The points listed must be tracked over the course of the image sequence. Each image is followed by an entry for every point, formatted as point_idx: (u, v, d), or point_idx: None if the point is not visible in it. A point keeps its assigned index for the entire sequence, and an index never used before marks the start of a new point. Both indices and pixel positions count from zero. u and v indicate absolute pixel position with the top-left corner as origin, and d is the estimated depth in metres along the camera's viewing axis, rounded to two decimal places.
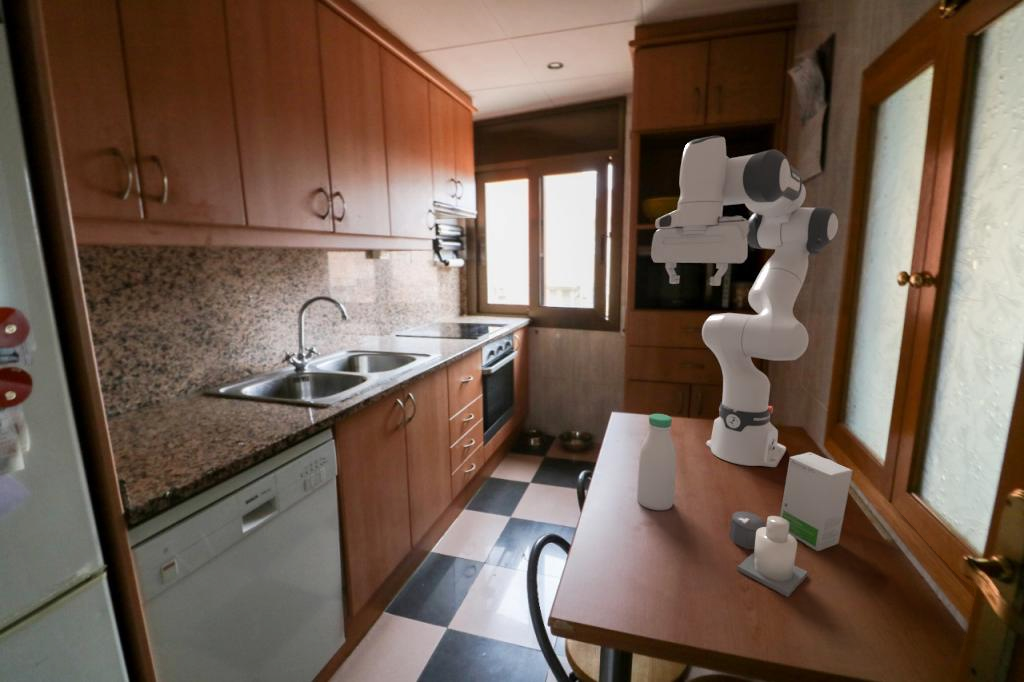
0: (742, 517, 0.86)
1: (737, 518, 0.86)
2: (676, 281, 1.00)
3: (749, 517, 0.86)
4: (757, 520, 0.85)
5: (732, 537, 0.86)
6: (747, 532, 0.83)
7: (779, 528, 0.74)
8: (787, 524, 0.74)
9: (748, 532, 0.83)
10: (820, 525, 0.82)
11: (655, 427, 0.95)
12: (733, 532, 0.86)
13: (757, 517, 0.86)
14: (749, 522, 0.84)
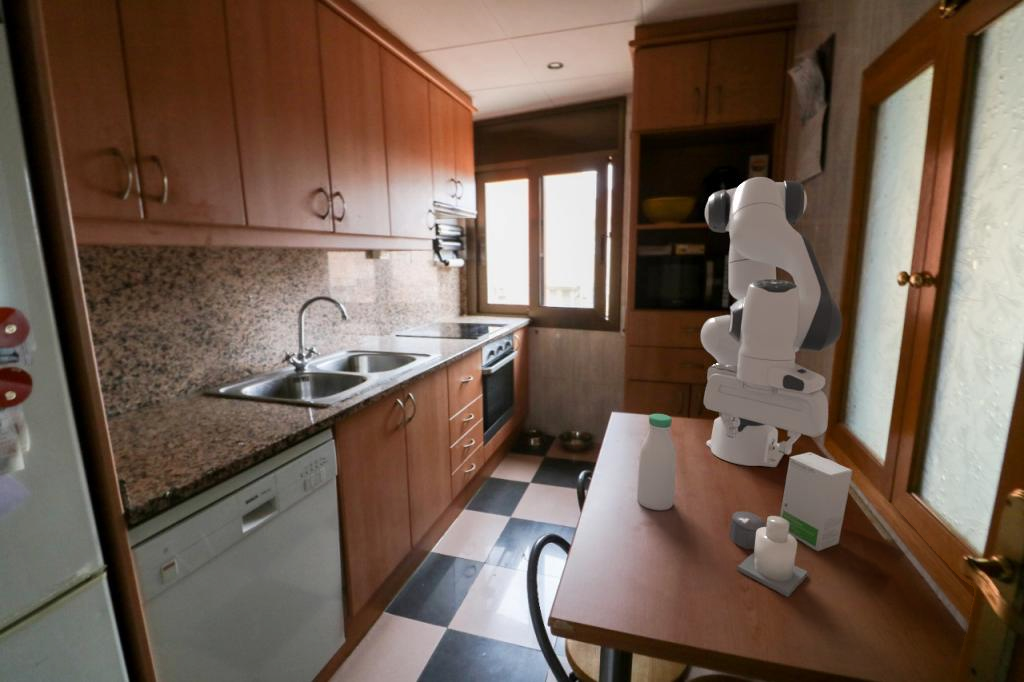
0: (742, 517, 0.86)
1: (737, 518, 0.86)
2: None
3: (749, 517, 0.86)
4: (757, 520, 0.85)
5: (732, 537, 0.86)
6: (747, 532, 0.83)
7: (779, 528, 0.74)
8: (787, 524, 0.74)
9: (748, 532, 0.83)
10: (820, 525, 0.82)
11: (655, 427, 0.95)
12: (733, 532, 0.86)
13: (757, 517, 0.86)
14: (749, 522, 0.84)
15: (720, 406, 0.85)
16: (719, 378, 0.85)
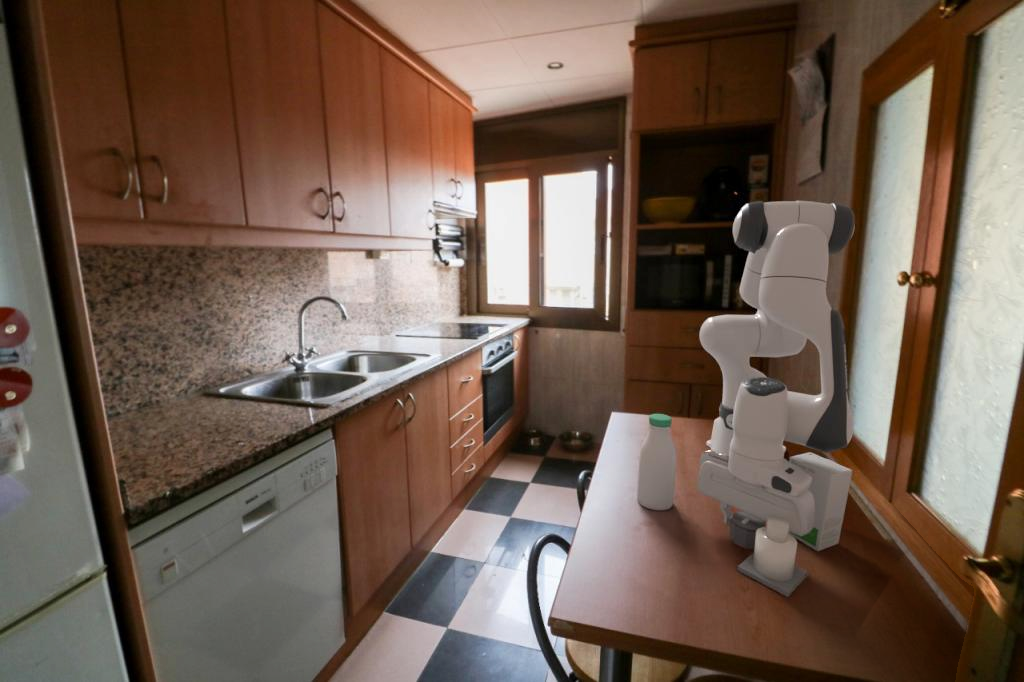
0: (742, 517, 0.86)
1: (737, 518, 0.86)
2: None
3: (749, 517, 0.86)
4: (757, 520, 0.85)
5: (732, 537, 0.86)
6: (747, 532, 0.83)
7: (779, 528, 0.74)
8: (787, 524, 0.74)
9: (748, 532, 0.83)
10: (820, 525, 0.82)
11: (655, 427, 0.95)
12: (733, 532, 0.86)
13: None
14: (749, 522, 0.84)
15: (712, 493, 0.89)
16: (711, 466, 0.88)
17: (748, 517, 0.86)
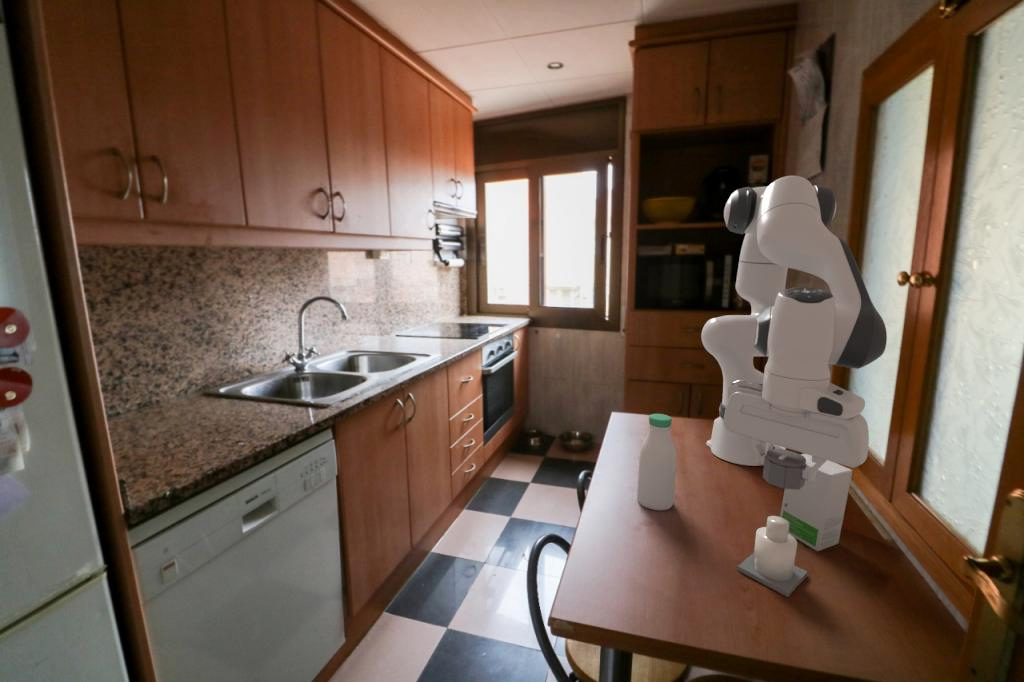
0: (778, 454, 0.74)
1: (772, 455, 0.73)
2: None
3: (786, 454, 0.74)
4: (796, 456, 0.73)
5: (766, 477, 0.74)
6: (785, 469, 0.71)
7: (779, 528, 0.74)
8: (787, 524, 0.74)
9: (787, 469, 0.71)
10: (820, 525, 0.82)
11: (655, 427, 0.95)
12: (768, 471, 0.73)
13: (795, 454, 0.74)
14: (787, 458, 0.72)
15: (742, 428, 0.77)
16: (741, 397, 0.76)
17: (785, 454, 0.74)
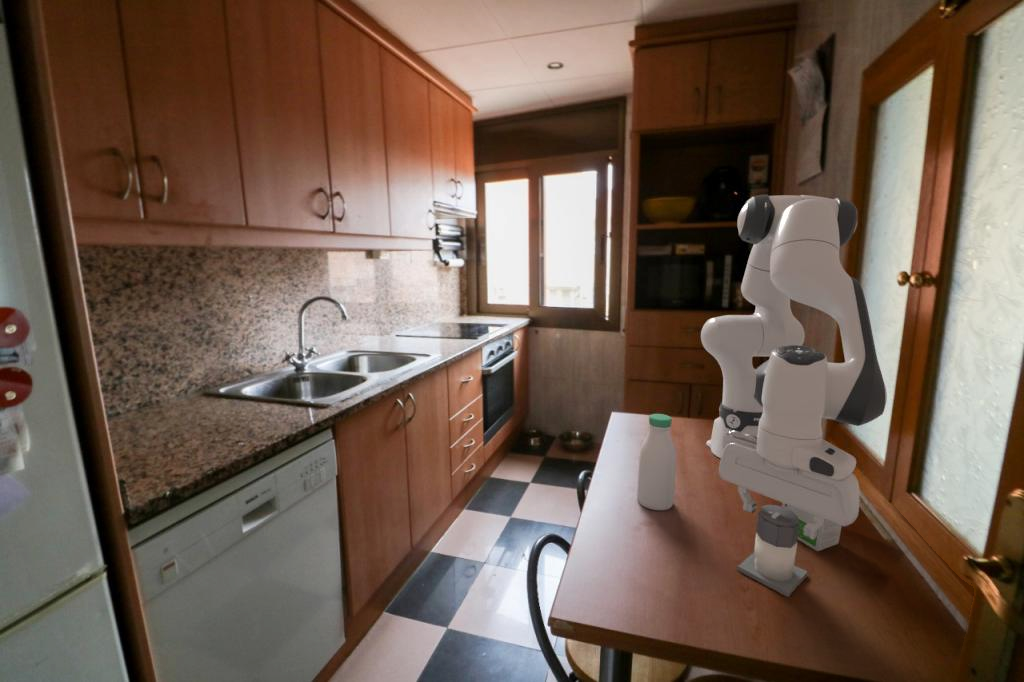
0: (771, 511, 0.76)
1: (766, 512, 0.75)
2: None
3: (779, 511, 0.76)
4: (789, 514, 0.75)
5: (760, 534, 0.76)
6: (778, 528, 0.73)
7: None
8: None
9: (779, 528, 0.73)
10: None
11: (655, 427, 0.95)
12: (761, 528, 0.75)
13: (788, 511, 0.76)
14: (780, 517, 0.74)
15: (737, 479, 0.78)
16: (736, 448, 0.78)
17: (778, 511, 0.76)
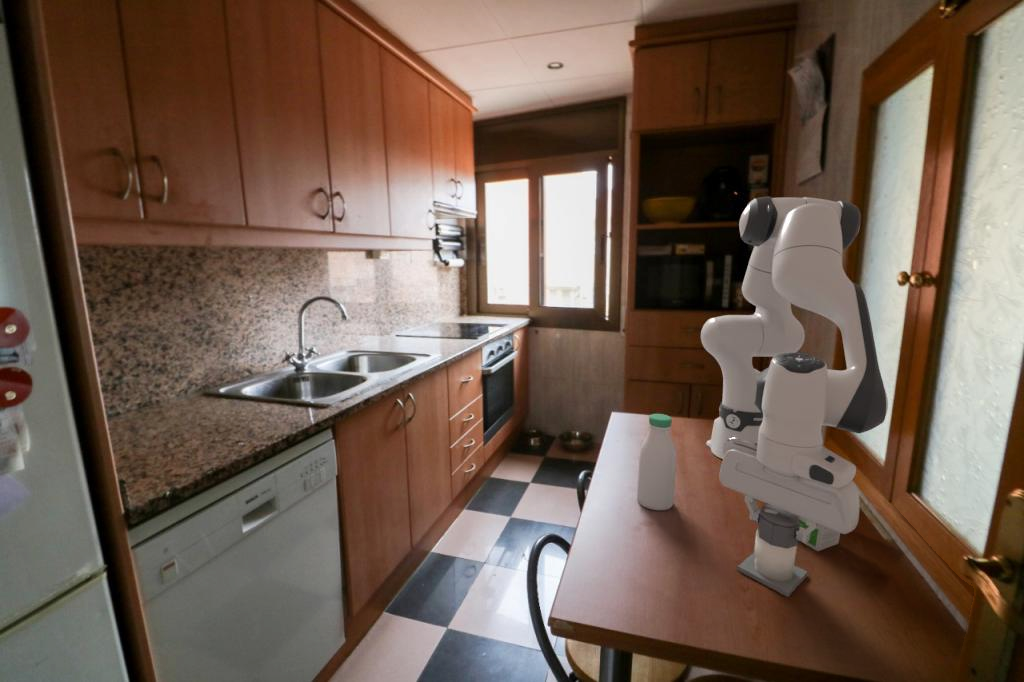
0: (776, 510, 0.76)
1: (769, 507, 0.77)
2: None
3: (784, 514, 0.75)
4: (787, 518, 0.73)
5: None
6: (761, 519, 0.75)
7: None
8: None
9: (762, 519, 0.75)
10: (820, 525, 0.82)
11: (655, 427, 0.95)
12: None
13: (794, 518, 0.74)
14: (773, 514, 0.75)
15: (737, 485, 0.78)
16: (737, 455, 0.78)
17: (783, 513, 0.75)
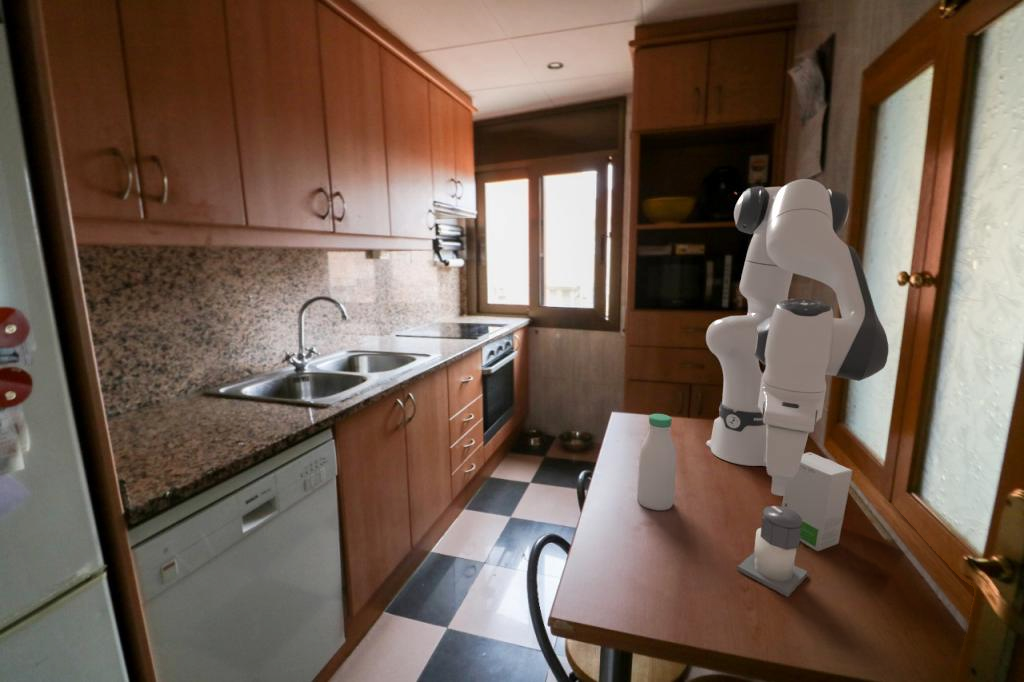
0: (786, 513, 0.75)
1: (783, 509, 0.76)
2: None
3: (787, 517, 0.74)
4: (780, 519, 0.74)
5: None
6: None
7: None
8: None
9: None
10: (820, 525, 0.82)
11: (655, 427, 0.95)
12: None
13: (787, 522, 0.73)
14: (775, 512, 0.76)
15: None
16: None
17: (787, 516, 0.74)
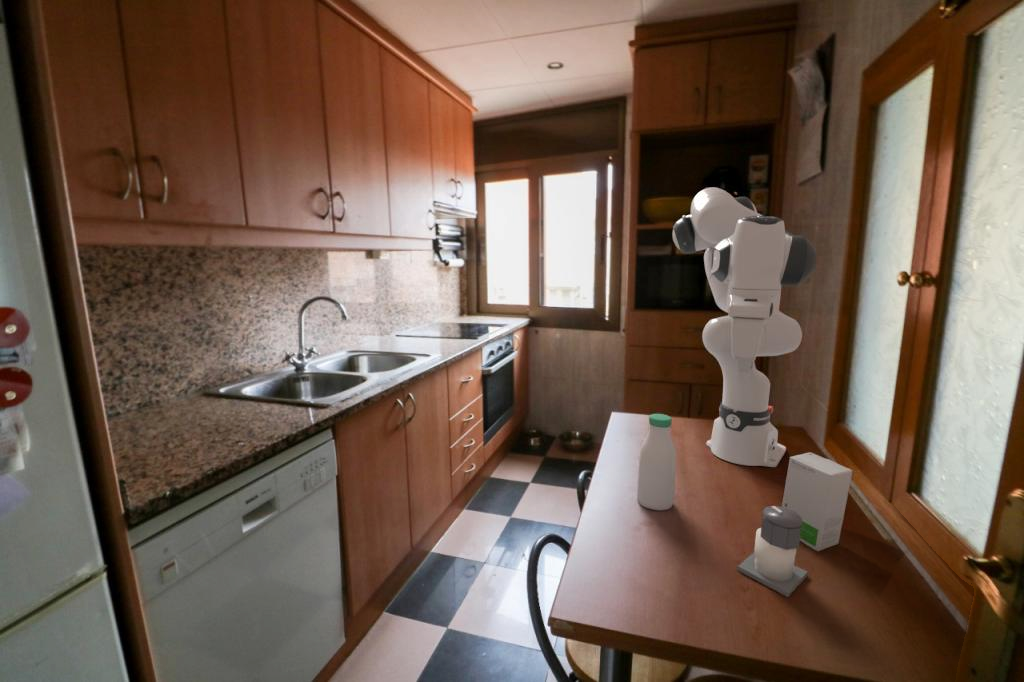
0: (786, 513, 0.75)
1: (783, 509, 0.76)
2: None
3: (787, 517, 0.74)
4: (780, 519, 0.74)
5: None
6: None
7: None
8: None
9: None
10: (820, 525, 0.82)
11: (655, 427, 0.95)
12: None
13: (787, 522, 0.73)
14: (775, 512, 0.76)
15: None
16: None
17: (787, 516, 0.74)
